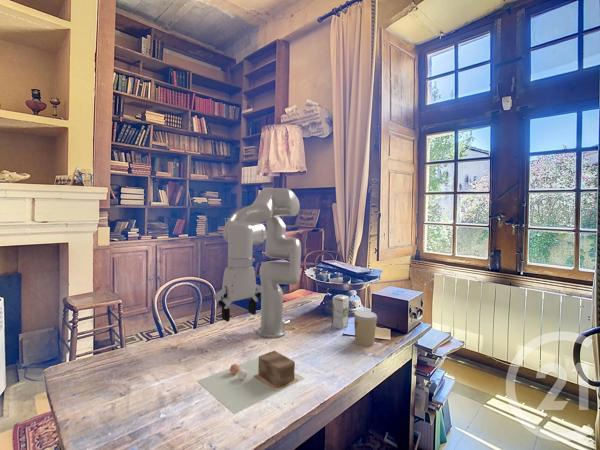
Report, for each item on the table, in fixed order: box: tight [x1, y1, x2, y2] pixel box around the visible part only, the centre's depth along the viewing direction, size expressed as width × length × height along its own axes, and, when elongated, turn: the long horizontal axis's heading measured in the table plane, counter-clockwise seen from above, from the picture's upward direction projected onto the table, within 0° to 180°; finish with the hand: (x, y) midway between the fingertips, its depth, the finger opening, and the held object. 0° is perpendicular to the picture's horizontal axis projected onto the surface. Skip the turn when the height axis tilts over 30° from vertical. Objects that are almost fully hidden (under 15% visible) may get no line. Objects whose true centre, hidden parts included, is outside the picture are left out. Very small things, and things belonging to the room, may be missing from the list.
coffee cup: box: [353, 310, 378, 347], centre depth 131 cm, size 9×9×12 cm
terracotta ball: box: [229, 363, 239, 374], centre depth 102 cm, size 3×3×3 cm
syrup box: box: [330, 294, 350, 330], centre depth 148 cm, size 6×6×14 cm
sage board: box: [196, 357, 306, 415], centre depth 99 cm, size 26×21×1 cm
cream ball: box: [237, 369, 247, 380], centre depth 99 cm, size 3×3×3 cm
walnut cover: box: [258, 350, 296, 388], centre depth 99 cm, size 10×6×6 cm, turn 44°
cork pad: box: [254, 374, 298, 391], centre depth 99 cm, size 9×11×1 cm
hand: (239, 316), depth 100 cm, fingers open, 9 cm apart
